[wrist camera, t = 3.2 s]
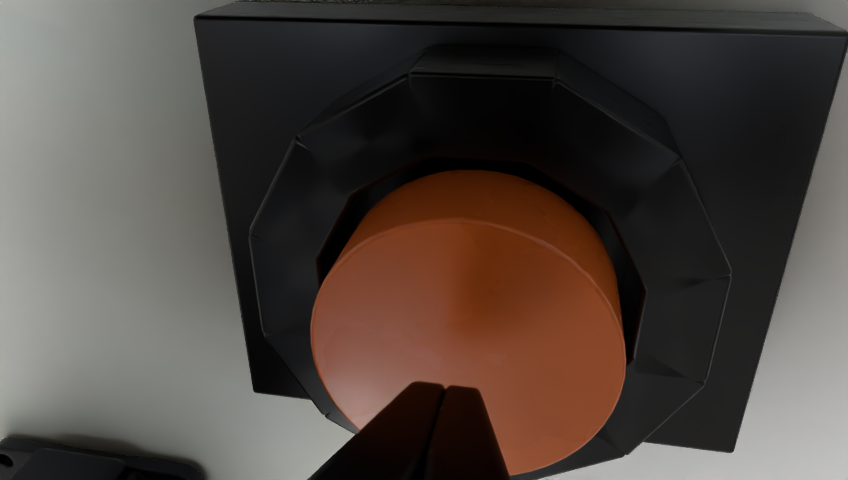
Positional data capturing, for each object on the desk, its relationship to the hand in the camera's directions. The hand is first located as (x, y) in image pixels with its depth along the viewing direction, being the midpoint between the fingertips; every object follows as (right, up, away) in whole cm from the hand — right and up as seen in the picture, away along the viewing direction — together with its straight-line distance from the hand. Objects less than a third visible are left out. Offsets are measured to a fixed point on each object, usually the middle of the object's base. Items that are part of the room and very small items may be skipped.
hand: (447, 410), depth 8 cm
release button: (+1, +1, +2) cm, 3 cm away
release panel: (+1, +3, +5) cm, 6 cm away
